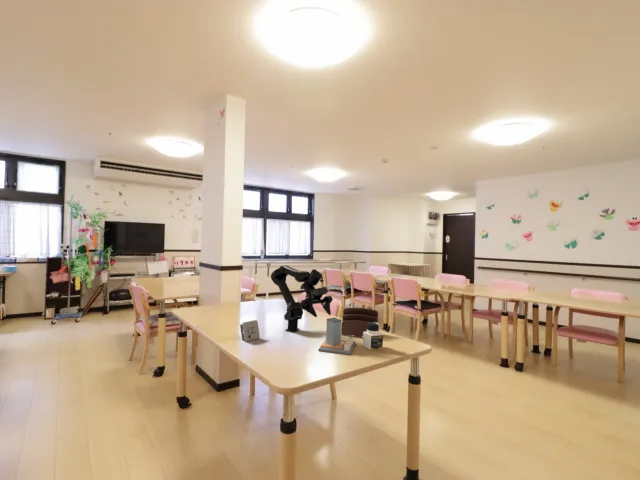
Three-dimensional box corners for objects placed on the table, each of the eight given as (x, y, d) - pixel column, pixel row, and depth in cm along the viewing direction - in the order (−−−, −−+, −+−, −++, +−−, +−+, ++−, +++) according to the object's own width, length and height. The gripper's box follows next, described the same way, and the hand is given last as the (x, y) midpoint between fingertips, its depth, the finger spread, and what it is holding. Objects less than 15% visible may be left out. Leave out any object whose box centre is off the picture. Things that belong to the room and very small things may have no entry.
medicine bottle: (370, 350, 158) (371, 325, 158) (362, 346, 164) (363, 321, 164) (382, 348, 161) (383, 324, 161) (373, 344, 167) (374, 320, 167)
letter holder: (342, 330, 192) (343, 306, 192) (377, 333, 188) (378, 308, 188) (340, 335, 182) (342, 309, 182) (377, 338, 179) (378, 312, 179)
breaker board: (327, 340, 171) (327, 332, 171) (355, 343, 167) (356, 335, 167) (318, 351, 153) (318, 342, 153) (350, 355, 150) (351, 346, 150)
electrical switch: (245, 342, 162) (245, 323, 163) (238, 341, 165) (238, 322, 166) (260, 338, 169) (259, 320, 170) (253, 337, 173) (253, 319, 173)
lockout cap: (325, 343, 161) (326, 318, 161) (333, 341, 165) (334, 317, 165) (332, 346, 157) (333, 321, 157) (340, 344, 161) (341, 319, 161)
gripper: (303, 282, 165) (316, 308, 157) (331, 280, 177) (345, 304, 169) (293, 295, 171) (306, 321, 163) (321, 293, 183) (333, 317, 175)
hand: (323, 315), depth 167 cm, fingers open, 9 cm apart
